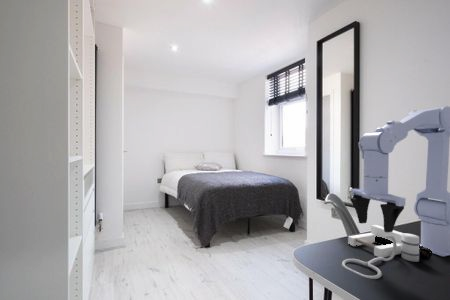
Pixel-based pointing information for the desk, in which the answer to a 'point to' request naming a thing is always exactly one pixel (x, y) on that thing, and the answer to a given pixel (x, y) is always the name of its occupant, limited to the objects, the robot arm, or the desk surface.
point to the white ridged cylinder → (410, 247)
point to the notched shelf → (370, 238)
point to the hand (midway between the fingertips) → (374, 227)
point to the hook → (372, 261)
